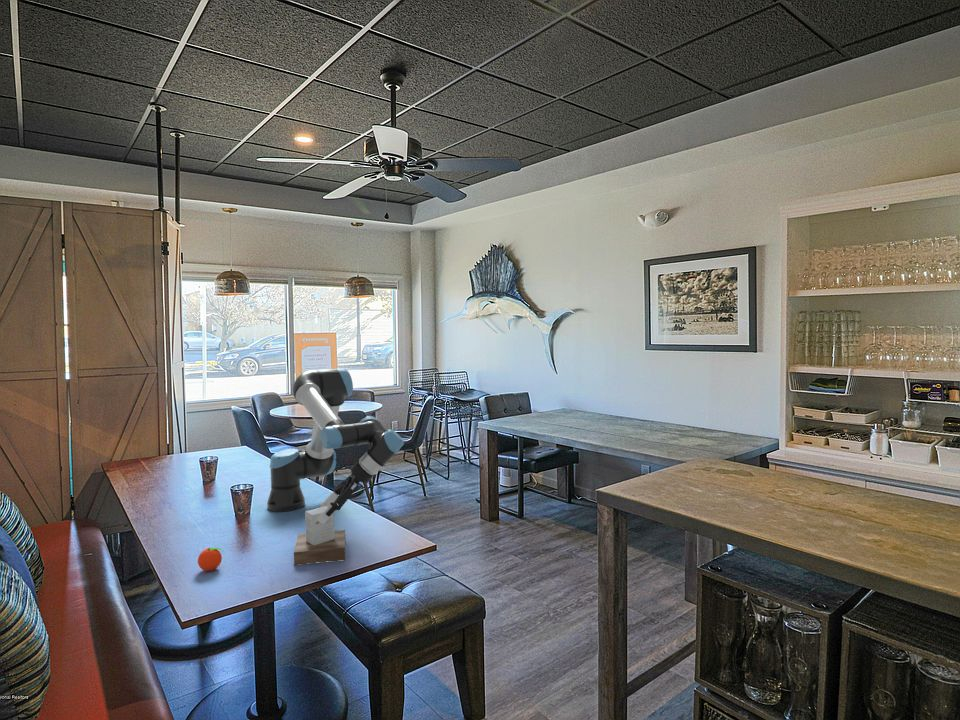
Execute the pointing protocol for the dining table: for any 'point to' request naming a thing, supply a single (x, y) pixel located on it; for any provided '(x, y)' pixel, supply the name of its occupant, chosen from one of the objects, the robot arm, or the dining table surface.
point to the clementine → (210, 559)
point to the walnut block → (319, 549)
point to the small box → (318, 527)
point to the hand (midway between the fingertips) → (321, 514)
